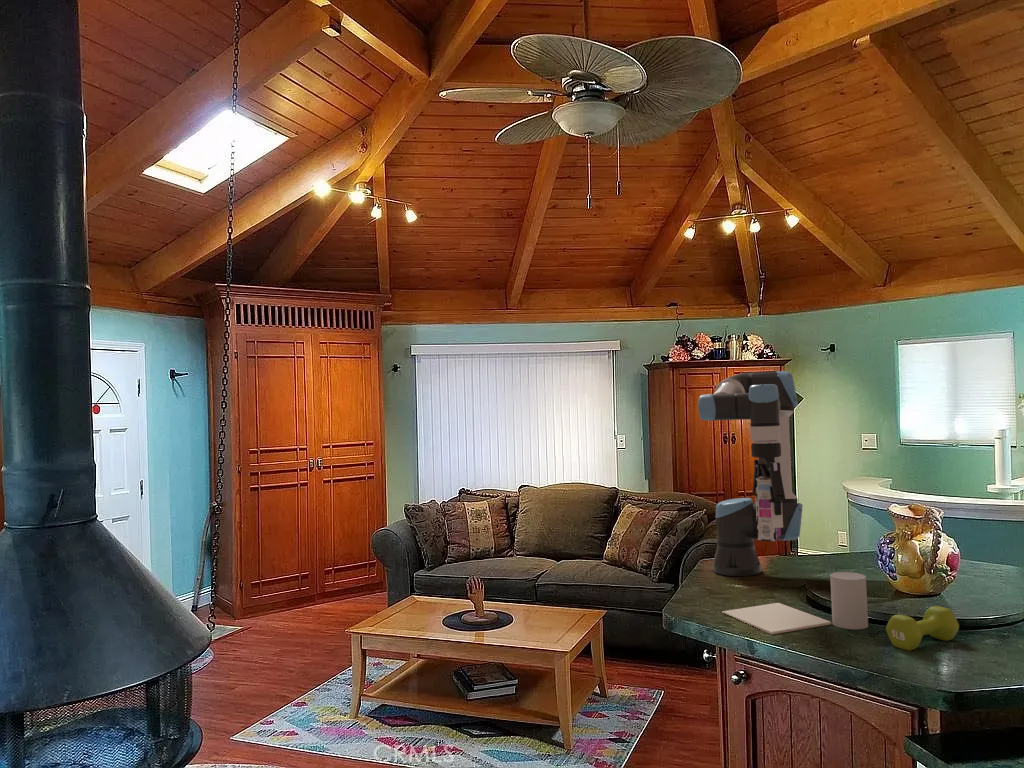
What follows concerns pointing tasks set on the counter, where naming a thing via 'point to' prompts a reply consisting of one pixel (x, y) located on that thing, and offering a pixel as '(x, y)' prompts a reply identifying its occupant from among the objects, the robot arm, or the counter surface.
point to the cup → (849, 600)
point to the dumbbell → (922, 627)
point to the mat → (776, 618)
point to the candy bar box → (765, 511)
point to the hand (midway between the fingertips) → (769, 524)
